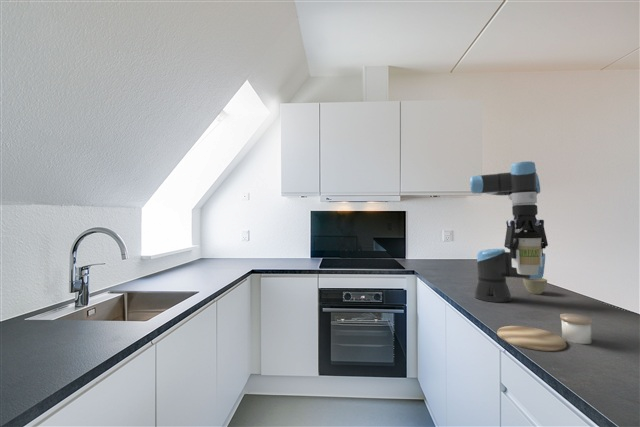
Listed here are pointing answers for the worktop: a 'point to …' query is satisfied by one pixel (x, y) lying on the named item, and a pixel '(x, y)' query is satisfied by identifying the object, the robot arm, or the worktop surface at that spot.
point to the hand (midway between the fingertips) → (527, 266)
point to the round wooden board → (531, 338)
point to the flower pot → (535, 285)
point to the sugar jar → (576, 328)
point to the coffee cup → (529, 252)
